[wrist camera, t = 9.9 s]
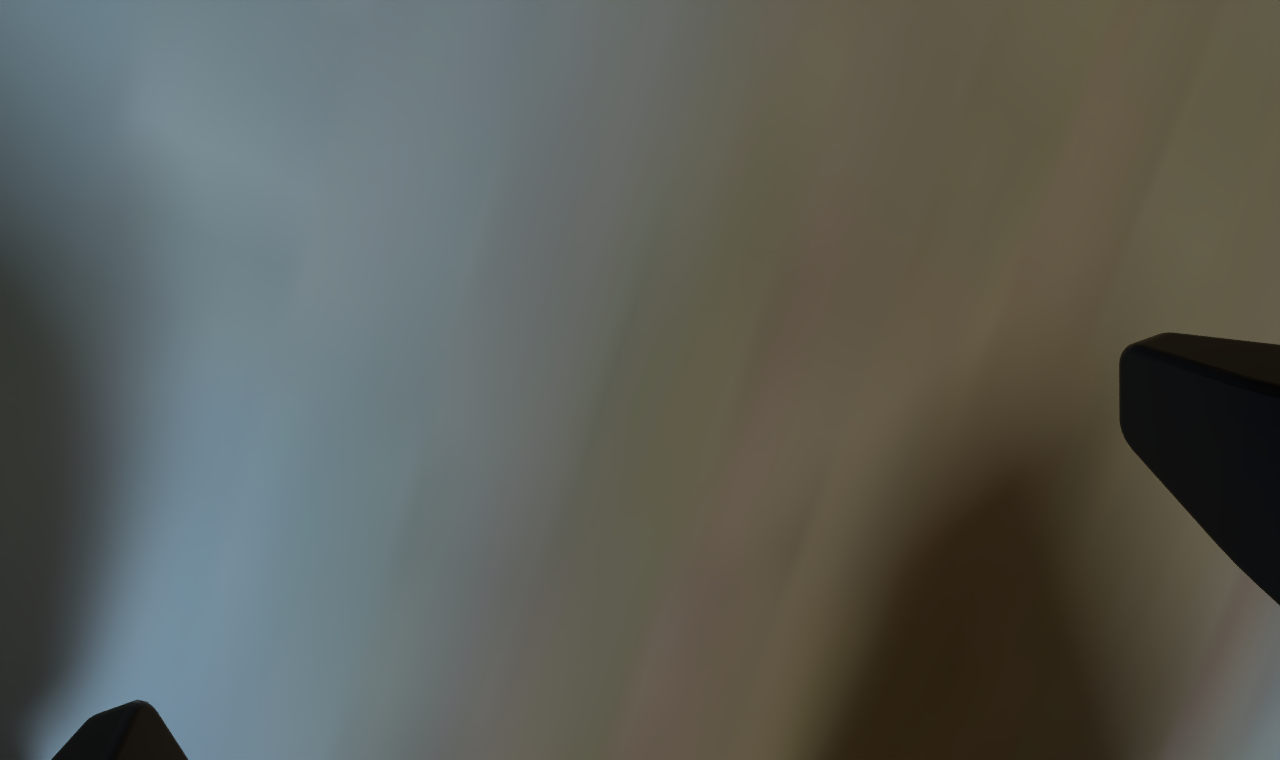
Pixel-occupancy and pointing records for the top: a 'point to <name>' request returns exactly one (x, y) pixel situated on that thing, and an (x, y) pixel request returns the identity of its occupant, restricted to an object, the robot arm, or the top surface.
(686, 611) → the top surface
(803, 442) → the top surface
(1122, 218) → the top surface
